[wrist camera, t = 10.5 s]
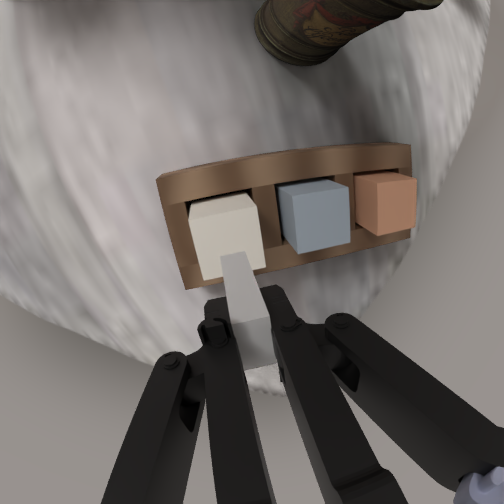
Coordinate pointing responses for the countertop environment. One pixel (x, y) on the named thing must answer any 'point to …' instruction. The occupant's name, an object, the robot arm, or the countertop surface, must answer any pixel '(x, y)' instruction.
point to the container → (323, 25)
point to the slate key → (313, 213)
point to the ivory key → (225, 232)
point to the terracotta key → (384, 201)
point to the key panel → (263, 195)
